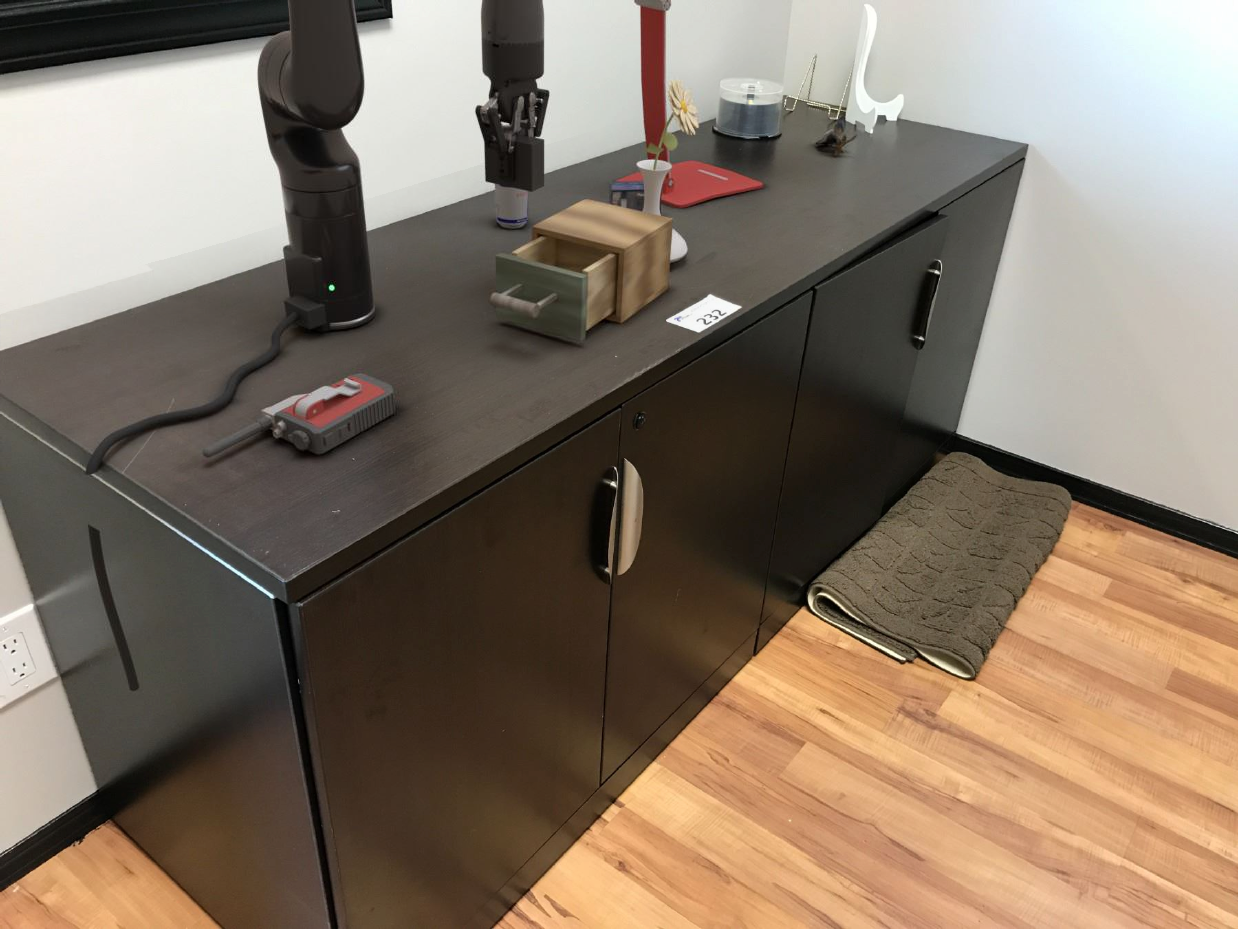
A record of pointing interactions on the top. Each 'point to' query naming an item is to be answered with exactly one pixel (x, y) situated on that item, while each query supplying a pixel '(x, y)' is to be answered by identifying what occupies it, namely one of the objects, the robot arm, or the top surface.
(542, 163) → the small black box
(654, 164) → the flower in vase
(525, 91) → the robot arm
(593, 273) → the drawer
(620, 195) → the mini dv tape
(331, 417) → the walkie-talkie
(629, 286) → the cabinet
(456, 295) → the top surface
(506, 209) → the beverage can
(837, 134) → the eagle figurine
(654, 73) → the desk lamp
